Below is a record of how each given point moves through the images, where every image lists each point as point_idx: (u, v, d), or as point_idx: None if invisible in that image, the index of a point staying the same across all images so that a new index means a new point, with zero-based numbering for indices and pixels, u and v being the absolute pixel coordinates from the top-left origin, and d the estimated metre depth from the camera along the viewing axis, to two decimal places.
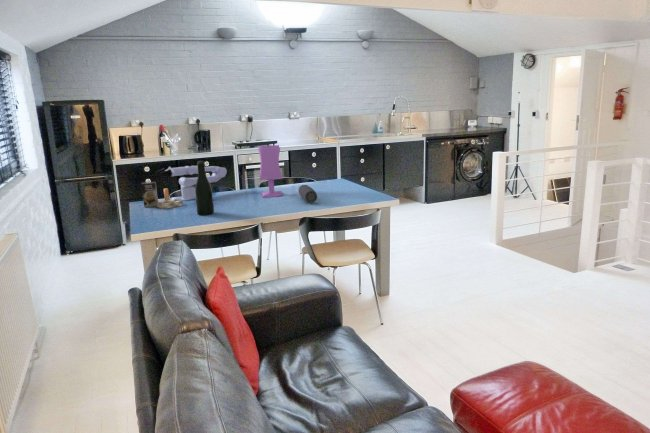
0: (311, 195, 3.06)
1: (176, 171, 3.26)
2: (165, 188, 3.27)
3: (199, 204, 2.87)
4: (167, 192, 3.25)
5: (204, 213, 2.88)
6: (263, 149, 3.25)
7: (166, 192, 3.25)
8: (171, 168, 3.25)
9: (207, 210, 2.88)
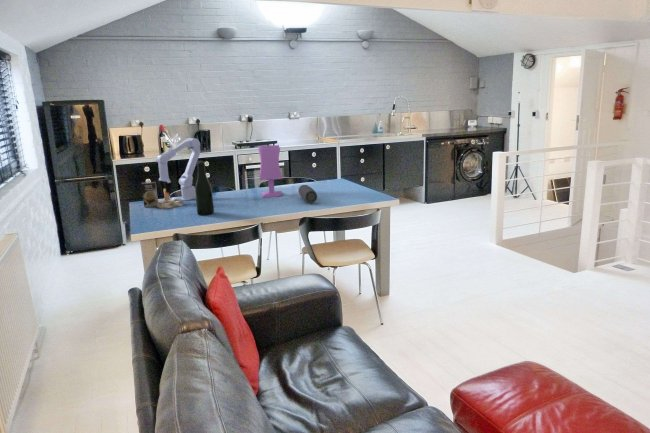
0: (311, 195, 3.06)
1: (164, 175, 3.20)
2: (165, 188, 3.27)
3: (199, 204, 2.87)
4: None
5: (204, 213, 2.88)
6: (263, 149, 3.25)
7: (166, 192, 3.25)
8: (161, 178, 3.21)
9: (207, 210, 2.88)
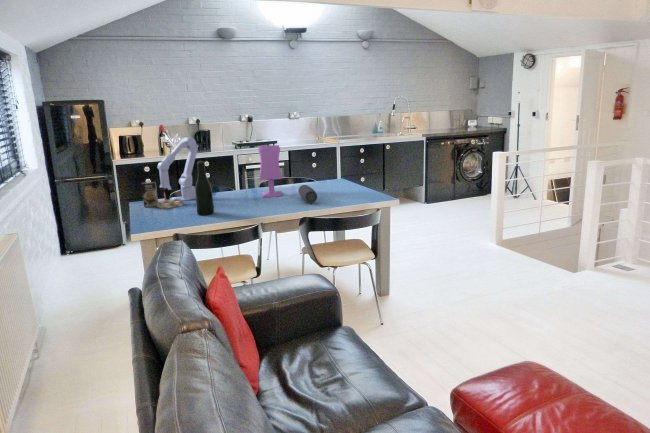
0: (311, 195, 3.06)
1: (165, 182, 3.22)
2: None
3: (199, 204, 2.87)
4: None
5: (204, 213, 2.88)
6: (263, 149, 3.25)
7: None
8: (162, 185, 3.22)
9: (207, 210, 2.88)
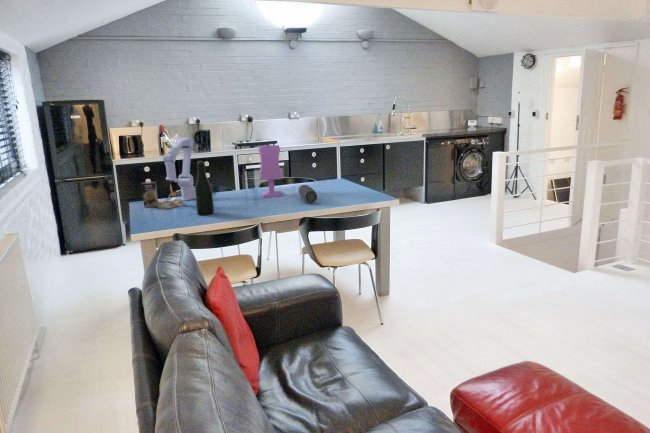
0: (311, 195, 3.06)
1: (171, 174, 3.12)
2: None
3: (199, 204, 2.87)
4: None
5: (204, 213, 2.88)
6: (263, 149, 3.25)
7: None
8: (168, 178, 3.13)
9: (207, 210, 2.88)
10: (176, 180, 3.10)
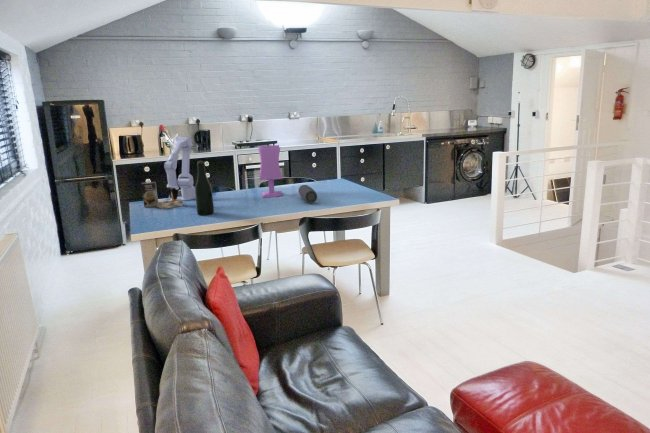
0: (311, 195, 3.06)
1: (172, 181, 3.14)
2: (172, 188, 3.19)
3: (199, 204, 2.87)
4: None
5: (204, 213, 2.88)
6: (263, 149, 3.25)
7: None
8: (169, 185, 3.14)
9: (207, 210, 2.88)
10: (177, 187, 3.12)
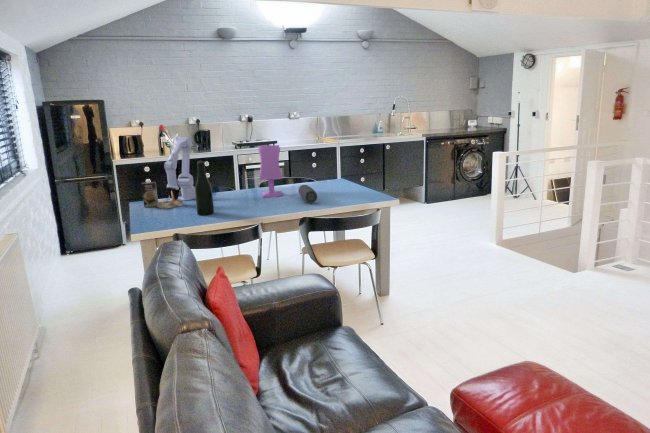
0: (311, 195, 3.06)
1: (172, 181, 3.14)
2: None
3: (199, 204, 2.87)
4: None
5: (204, 213, 2.88)
6: (263, 149, 3.25)
7: None
8: (169, 185, 3.14)
9: (207, 210, 2.88)
10: (177, 187, 3.12)
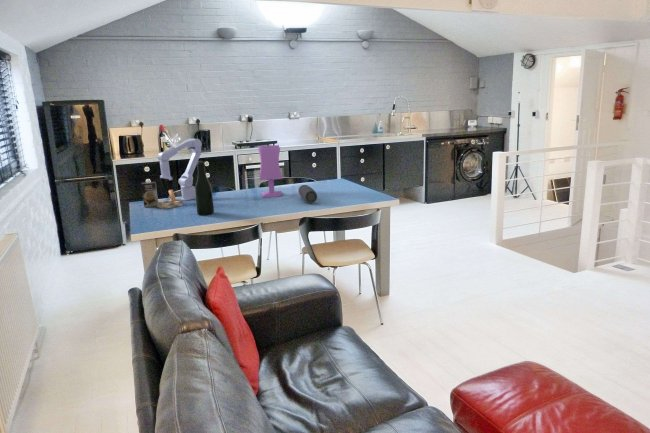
0: (311, 195, 3.06)
1: (166, 172, 3.20)
2: None
3: (199, 204, 2.87)
4: (172, 192, 3.20)
5: (204, 213, 2.88)
6: (263, 149, 3.25)
7: (171, 192, 3.20)
8: (162, 176, 3.20)
9: (207, 210, 2.88)
10: (170, 178, 3.18)
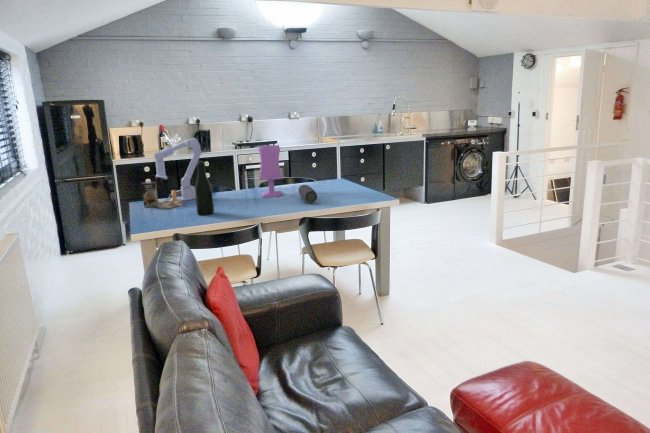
0: (311, 195, 3.06)
1: (161, 171, 3.26)
2: (173, 190, 3.18)
3: (199, 204, 2.87)
4: (175, 194, 3.17)
5: (204, 213, 2.88)
6: (263, 149, 3.25)
7: (174, 194, 3.17)
8: (158, 175, 3.27)
9: (207, 210, 2.88)
10: (165, 177, 3.24)
